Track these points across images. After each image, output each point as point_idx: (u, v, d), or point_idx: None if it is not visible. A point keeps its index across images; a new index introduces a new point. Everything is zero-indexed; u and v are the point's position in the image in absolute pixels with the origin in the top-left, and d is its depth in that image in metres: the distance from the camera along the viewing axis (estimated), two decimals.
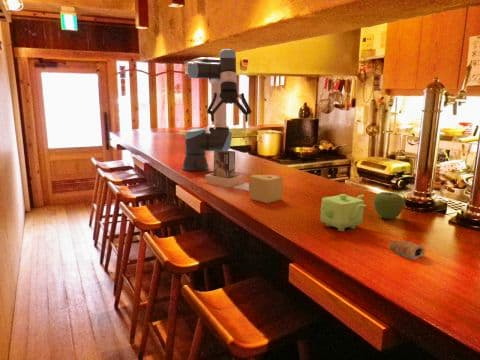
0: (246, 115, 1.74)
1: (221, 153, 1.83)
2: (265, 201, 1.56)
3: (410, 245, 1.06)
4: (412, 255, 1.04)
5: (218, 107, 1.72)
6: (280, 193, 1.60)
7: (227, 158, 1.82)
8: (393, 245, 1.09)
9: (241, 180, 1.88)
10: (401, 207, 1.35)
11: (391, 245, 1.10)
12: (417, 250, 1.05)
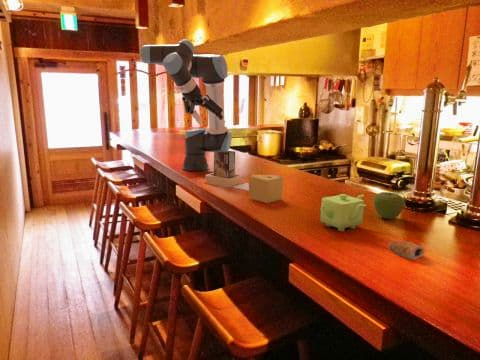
0: (218, 115, 1.66)
1: (221, 153, 1.83)
2: (265, 201, 1.56)
3: (410, 245, 1.06)
4: (412, 255, 1.04)
5: (192, 109, 1.71)
6: (280, 193, 1.60)
7: (227, 158, 1.82)
8: (393, 245, 1.09)
9: (241, 180, 1.88)
10: (401, 207, 1.35)
11: (391, 245, 1.10)
12: (417, 250, 1.05)
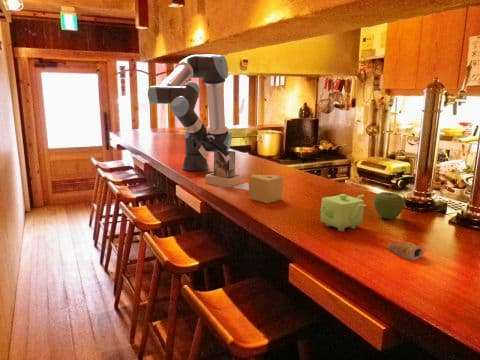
0: (223, 152, 1.72)
1: None
2: (265, 201, 1.56)
3: (409, 246, 1.05)
4: (411, 256, 1.03)
5: (198, 145, 1.77)
6: (280, 193, 1.60)
7: None
8: (392, 246, 1.09)
9: (241, 180, 1.88)
10: (401, 207, 1.35)
11: (390, 246, 1.10)
12: (416, 251, 1.04)
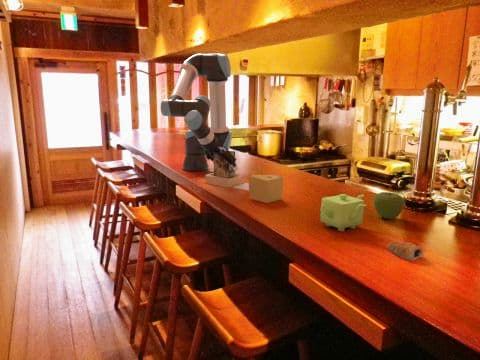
0: (232, 163, 1.82)
1: None
2: (265, 201, 1.56)
3: (409, 246, 1.05)
4: (411, 256, 1.03)
5: (212, 157, 1.85)
6: (280, 193, 1.60)
7: None
8: (391, 246, 1.09)
9: (241, 180, 1.88)
10: (401, 207, 1.35)
11: (389, 246, 1.09)
12: (416, 251, 1.04)
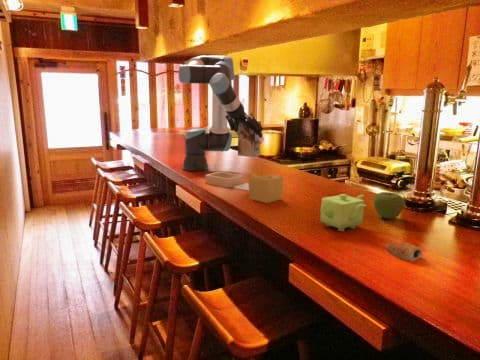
0: (258, 133, 1.71)
1: None
2: (265, 201, 1.56)
3: (408, 247, 1.05)
4: (411, 257, 1.03)
5: (236, 127, 1.74)
6: (280, 193, 1.60)
7: None
8: (390, 247, 1.08)
9: (241, 180, 1.88)
10: (401, 207, 1.35)
11: (388, 247, 1.09)
12: (415, 252, 1.04)
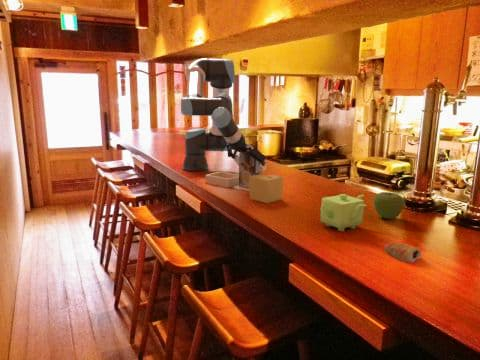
0: (261, 162, 1.72)
1: (247, 155, 1.75)
2: (265, 201, 1.56)
3: (407, 248, 1.04)
4: (410, 258, 1.02)
5: (235, 155, 1.77)
6: (280, 193, 1.60)
7: (254, 161, 1.74)
8: (389, 248, 1.07)
9: None
10: (401, 207, 1.35)
11: (387, 248, 1.08)
12: (414, 252, 1.03)
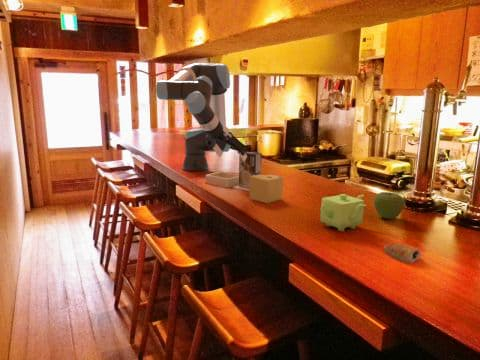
0: (240, 151, 1.61)
1: (247, 155, 1.75)
2: (265, 201, 1.56)
3: (407, 248, 1.04)
4: (410, 258, 1.02)
5: (213, 144, 1.65)
6: (280, 193, 1.60)
7: (254, 161, 1.74)
8: (389, 249, 1.07)
9: None
10: (401, 207, 1.35)
11: (386, 249, 1.08)
12: (414, 253, 1.03)
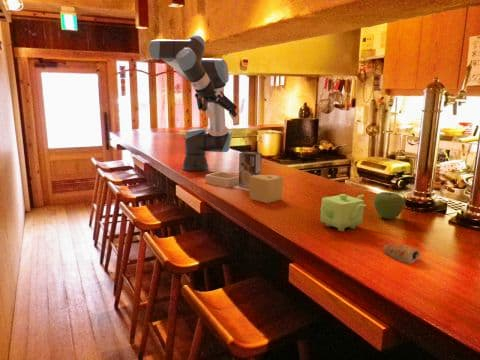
0: (232, 112, 1.61)
1: (247, 155, 1.75)
2: (265, 201, 1.56)
3: (406, 249, 1.03)
4: (410, 259, 1.01)
5: (205, 106, 1.66)
6: (280, 193, 1.60)
7: (254, 161, 1.74)
8: (388, 249, 1.06)
9: None
10: (401, 207, 1.35)
11: (386, 249, 1.07)
12: (414, 253, 1.02)
